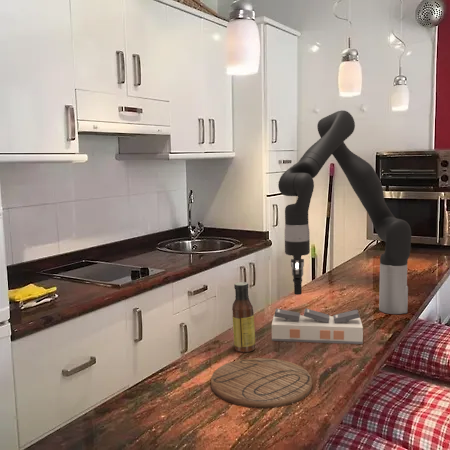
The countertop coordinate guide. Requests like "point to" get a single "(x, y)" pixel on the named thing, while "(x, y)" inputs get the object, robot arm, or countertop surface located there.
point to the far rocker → (287, 314)
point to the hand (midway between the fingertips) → (298, 293)
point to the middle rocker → (316, 315)
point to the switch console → (317, 330)
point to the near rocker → (346, 316)
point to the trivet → (261, 382)
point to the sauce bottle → (243, 319)
